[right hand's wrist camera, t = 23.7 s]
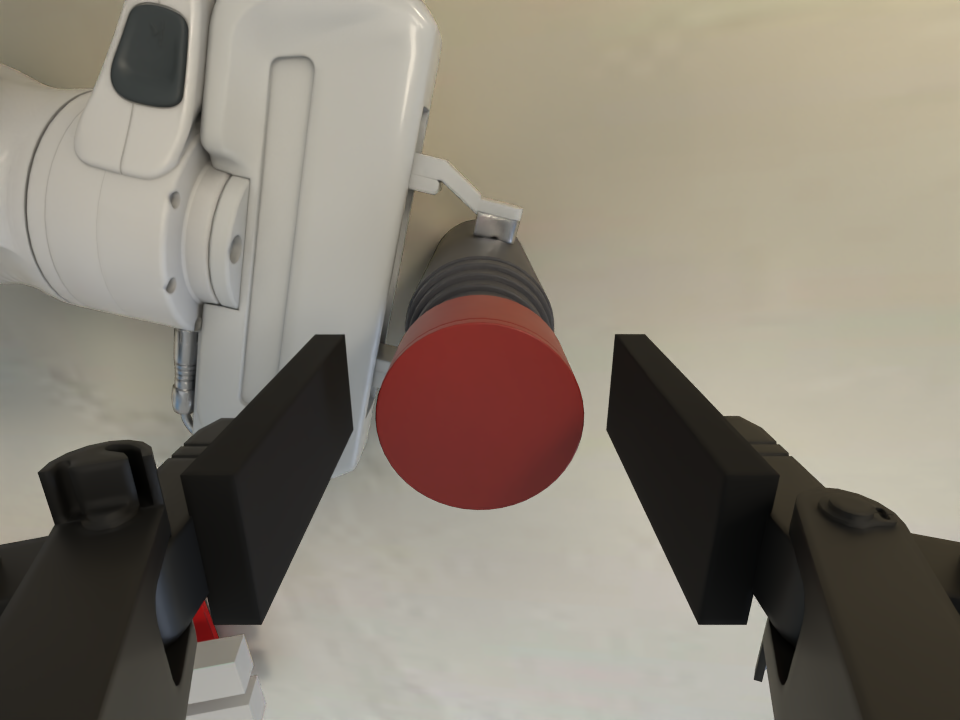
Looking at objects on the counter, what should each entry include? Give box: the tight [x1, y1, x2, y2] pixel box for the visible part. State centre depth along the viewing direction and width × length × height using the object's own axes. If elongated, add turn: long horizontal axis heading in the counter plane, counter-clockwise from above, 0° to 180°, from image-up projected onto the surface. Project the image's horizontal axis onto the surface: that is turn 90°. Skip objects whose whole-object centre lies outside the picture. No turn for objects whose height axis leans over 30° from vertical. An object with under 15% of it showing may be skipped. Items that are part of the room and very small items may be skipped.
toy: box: [186, 600, 266, 720], centre depth 35 cm, size 12×13×30 cm
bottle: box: [405, 220, 554, 333], centre depth 21 cm, size 5×5×18 cm
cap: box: [376, 295, 584, 510], centre depth 13 cm, size 5×5×2 cm
